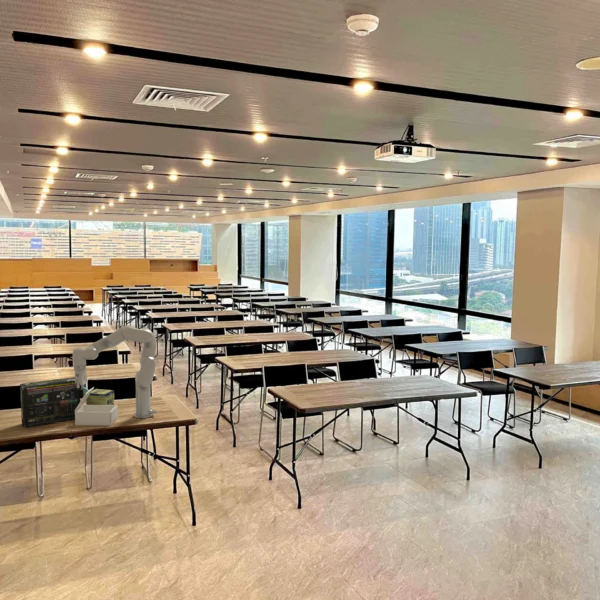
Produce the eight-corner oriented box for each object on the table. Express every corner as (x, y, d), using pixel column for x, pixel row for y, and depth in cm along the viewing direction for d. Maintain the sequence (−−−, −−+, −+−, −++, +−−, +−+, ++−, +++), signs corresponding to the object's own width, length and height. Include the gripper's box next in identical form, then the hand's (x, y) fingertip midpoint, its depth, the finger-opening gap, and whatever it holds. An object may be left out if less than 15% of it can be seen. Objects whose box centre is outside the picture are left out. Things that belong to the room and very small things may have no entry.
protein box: (106, 416, 382) (106, 394, 381) (85, 414, 385) (85, 392, 384) (114, 412, 393) (114, 390, 391) (94, 410, 396) (94, 388, 394)
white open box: (118, 418, 380) (118, 405, 379) (111, 425, 364) (111, 412, 363) (83, 417, 379) (83, 404, 378) (75, 425, 363) (74, 411, 362)
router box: (77, 414, 385) (76, 376, 382) (82, 419, 376) (81, 379, 373) (19, 423, 364) (18, 383, 361) (23, 428, 355) (21, 386, 352)
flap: (94, 387, 376) (86, 382, 376) (86, 393, 362) (78, 388, 361) (82, 404, 377) (74, 399, 377) (75, 411, 362) (66, 406, 362)
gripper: (81, 370, 359) (83, 398, 361) (89, 364, 375) (90, 391, 377) (69, 370, 359) (71, 398, 361) (78, 364, 374) (79, 392, 377)
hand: (81, 395), depth 369 cm, fingers closed
